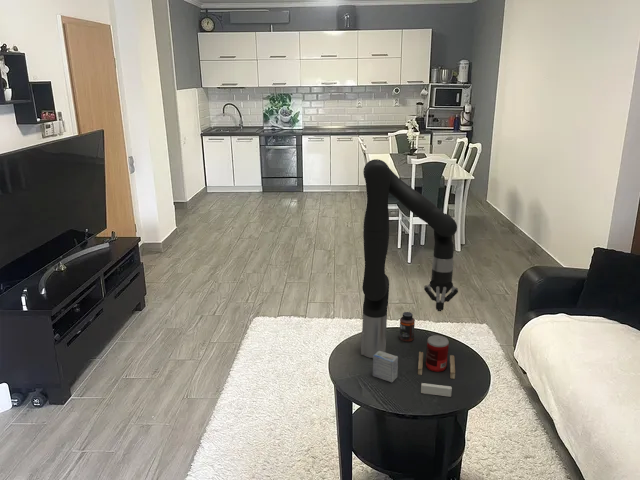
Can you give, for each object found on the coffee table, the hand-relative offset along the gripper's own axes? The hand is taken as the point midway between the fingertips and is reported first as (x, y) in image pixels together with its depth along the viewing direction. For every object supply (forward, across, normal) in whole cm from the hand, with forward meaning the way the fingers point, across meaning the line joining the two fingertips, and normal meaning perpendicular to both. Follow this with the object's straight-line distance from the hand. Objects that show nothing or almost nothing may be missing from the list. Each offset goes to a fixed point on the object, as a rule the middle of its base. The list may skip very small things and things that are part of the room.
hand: (439, 310), depth 194 cm
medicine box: (+18, -18, -21) cm, 33 cm away
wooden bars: (+18, 0, -11) cm, 21 cm away
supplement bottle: (+18, -12, +9) cm, 24 cm away
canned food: (+18, 0, -10) cm, 21 cm away
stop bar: (+18, 0, -27) cm, 33 cm away
